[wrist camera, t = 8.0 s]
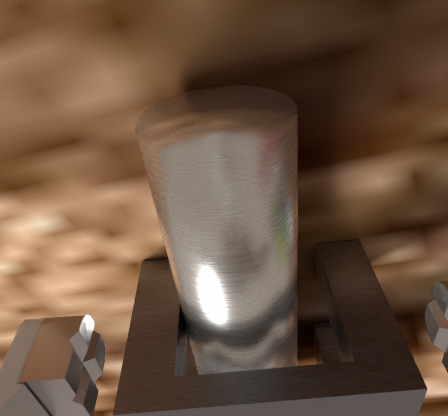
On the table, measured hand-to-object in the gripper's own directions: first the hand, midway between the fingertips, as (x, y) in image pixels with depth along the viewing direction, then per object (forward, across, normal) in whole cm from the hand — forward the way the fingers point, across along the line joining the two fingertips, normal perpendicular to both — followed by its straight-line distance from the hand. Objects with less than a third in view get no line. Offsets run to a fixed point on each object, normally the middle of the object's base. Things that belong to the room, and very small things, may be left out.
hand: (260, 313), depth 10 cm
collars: (+8, 0, +11) cm, 13 cm away
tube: (+8, 0, +6) cm, 10 cm away
